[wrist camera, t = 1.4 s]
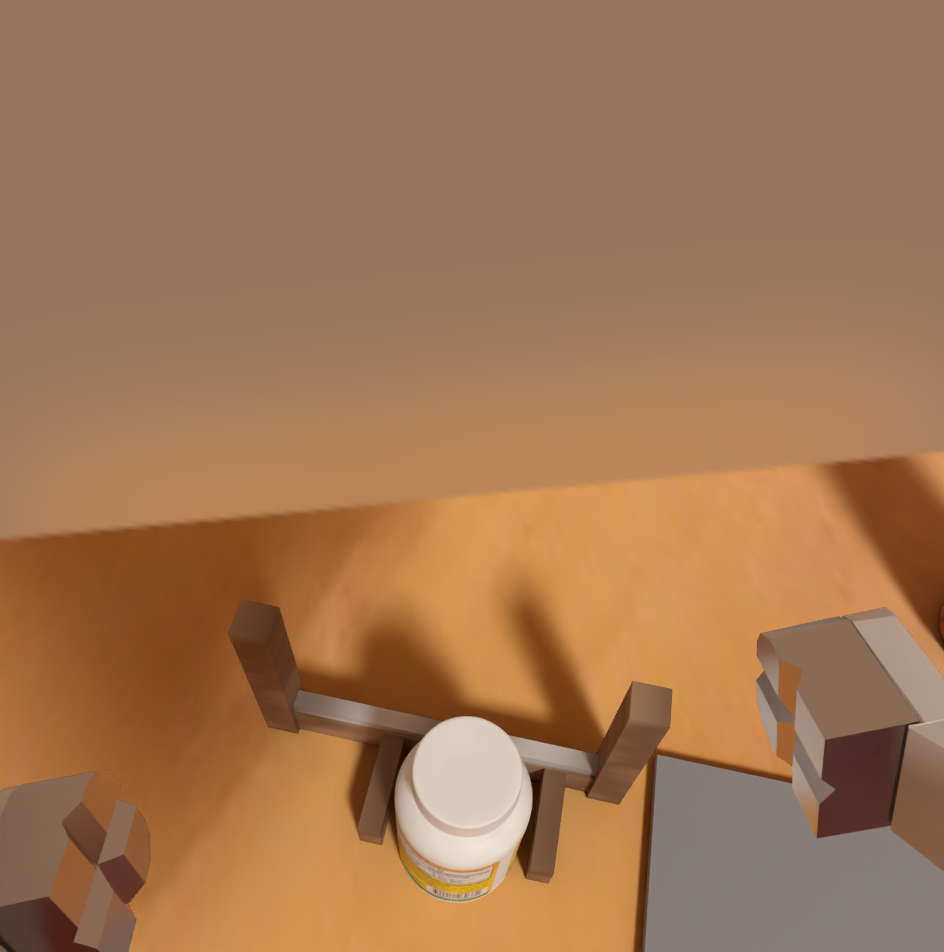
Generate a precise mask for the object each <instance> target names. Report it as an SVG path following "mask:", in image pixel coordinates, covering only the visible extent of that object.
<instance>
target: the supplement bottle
mask: <svg viewBox="0 0 944 952" xmlns="http://www.w3.org/2000/svg"><path fill="white" fill-rule="evenodd" d="M394 800H395V813H396V826H397V839H398V848H399V854H400V858H401V861H402V864H403V866H404V868H405V870H406V872H407V874H408V875H409V877H410V878H411V880H412V881H413V882H414V883H415V884H416V885H417V886H418V887H419V888H420V889H421V890H422V891H424V892H425V893H427V894H428V895H430V896H432V897H434V898H436V899H438V900H441V901H446V902H452V903H463V902H470V901H474V900H476V899H479V898H481V897H483V896H485V895H487V894H489V893H490V892H491V891H493V890H494V889H495V888H496V887H497V886H498V885H499V884H500V883H501V882H502V881H503V879H504V878H505V877H506V875H507V873H508V872H509V870H510V868H511V866H512V863H513V861H514V858H515V856H516V853H517V850H518V848H519V845H520V843H521V840H522V838H523V835H524V833H525V831H526V828H527V826H528V822H529V819H530V815H531V810H532V786H531V781H530V777H529V774H528V771H527V768H526V766H525V764H524V762H523V760H522V759H521V757H520V755H519V752H518V750H517V748H516V746H515V744H514V742H513V741H512V739H511V738H510V737H509V736H508V734H507V733H506V732H505V731H503V730H502V729H501V728H500V727H499V726H497V725H496V724H494V723H492V722H490V721H488V720H485V719H482V718H479V717H473V716H460V717H454V718H451V719H448V720H445V721H443V722H441V723H439V724H438V725H436V726H435V727H433V728H432V729H431V730H430V731H429V732H428V733H427V734H426V735H425V736H424V737H423V738H422V740H421V741H420V742H419V743H418V744H417V745H416V746H415V747H414V748H413V749H412V750H411V751H410V753H409V754H408V755H407V757H406V759H405V760H404V762H403V764H402V766H401V768H400V771H399V774H398V777H397V781H396V786H395V799H394Z"/></svg>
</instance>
